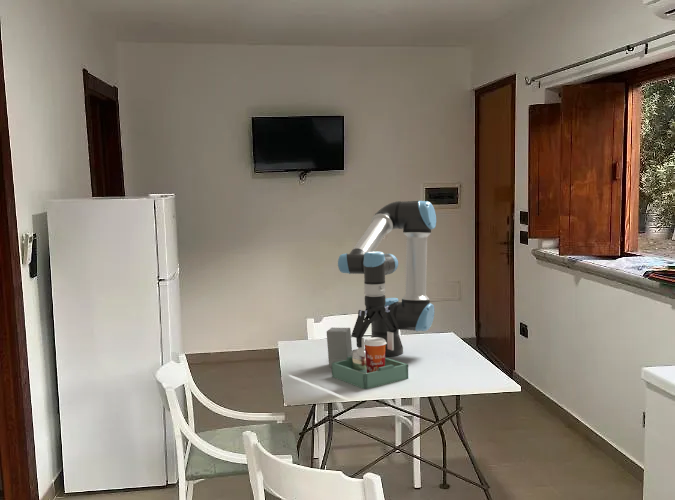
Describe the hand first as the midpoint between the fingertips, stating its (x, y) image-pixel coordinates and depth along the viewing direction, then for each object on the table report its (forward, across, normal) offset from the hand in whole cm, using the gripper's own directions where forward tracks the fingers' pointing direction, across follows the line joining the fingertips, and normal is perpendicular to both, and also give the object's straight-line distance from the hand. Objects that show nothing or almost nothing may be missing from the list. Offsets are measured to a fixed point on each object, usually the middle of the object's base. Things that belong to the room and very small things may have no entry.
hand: (376, 352), depth 237 cm
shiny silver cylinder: (+10, 0, +9) cm, 14 cm away
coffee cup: (+10, 0, 0) cm, 10 cm away
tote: (+11, 0, +4) cm, 11 cm away
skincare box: (+11, +1, +24) cm, 26 cm away
